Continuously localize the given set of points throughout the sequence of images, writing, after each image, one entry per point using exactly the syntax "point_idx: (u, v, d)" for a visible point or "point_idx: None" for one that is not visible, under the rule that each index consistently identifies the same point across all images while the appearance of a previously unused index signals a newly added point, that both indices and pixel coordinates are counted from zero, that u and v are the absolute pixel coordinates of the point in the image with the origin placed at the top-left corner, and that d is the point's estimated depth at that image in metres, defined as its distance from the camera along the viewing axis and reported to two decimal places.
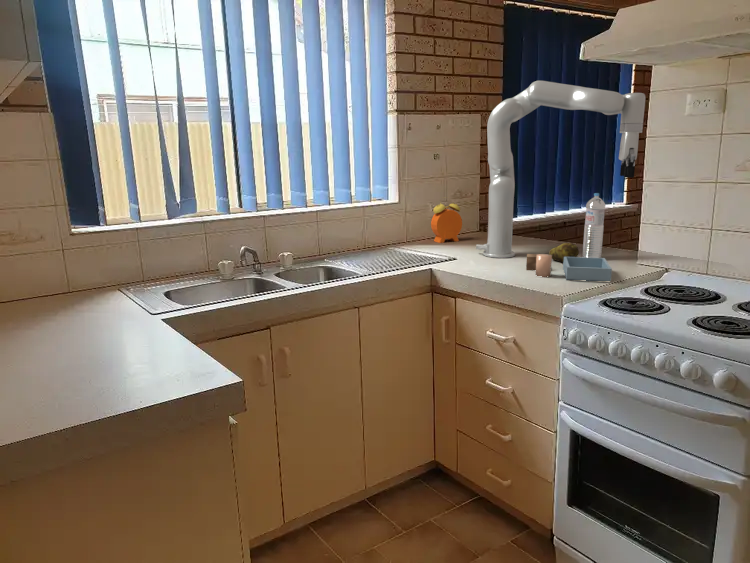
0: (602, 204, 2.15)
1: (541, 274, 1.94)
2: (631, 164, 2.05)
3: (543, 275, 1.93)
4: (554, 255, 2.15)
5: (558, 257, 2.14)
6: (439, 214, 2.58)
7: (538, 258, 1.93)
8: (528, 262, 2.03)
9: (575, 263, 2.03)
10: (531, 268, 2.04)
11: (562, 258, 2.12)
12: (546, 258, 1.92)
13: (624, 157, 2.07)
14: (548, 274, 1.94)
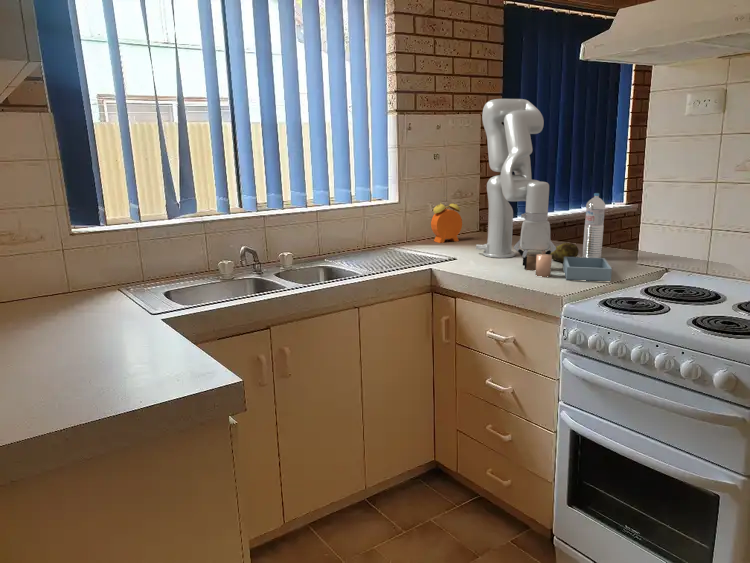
0: (602, 204, 2.15)
1: (541, 274, 1.94)
2: None
3: (543, 275, 1.93)
4: (554, 255, 2.15)
5: (558, 257, 2.14)
6: (439, 214, 2.58)
7: (538, 258, 1.93)
8: (528, 262, 2.03)
9: (575, 263, 2.03)
10: (531, 268, 2.04)
11: (562, 258, 2.12)
12: (546, 258, 1.92)
13: (549, 247, 2.01)
14: (548, 274, 1.94)
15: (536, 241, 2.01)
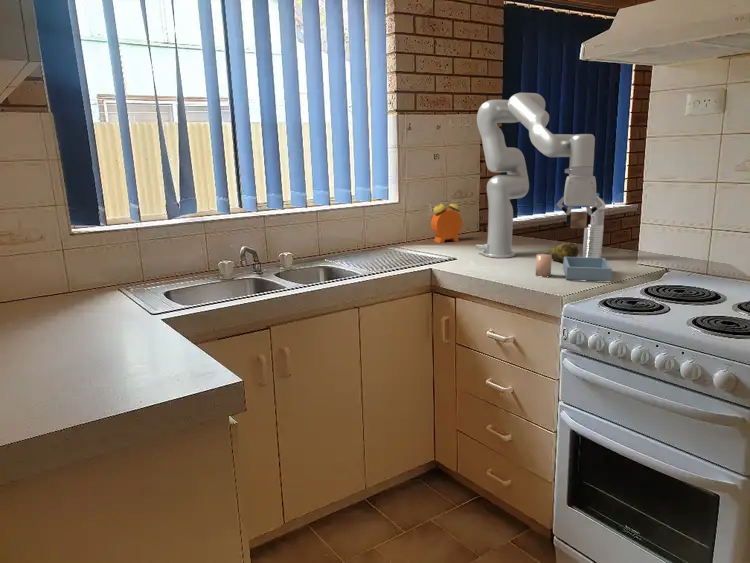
0: None
1: (541, 274, 1.94)
2: None
3: (543, 275, 1.93)
4: (554, 255, 2.15)
5: (558, 257, 2.14)
6: (439, 214, 2.58)
7: (538, 258, 1.93)
8: (572, 219, 1.94)
9: (575, 263, 2.03)
10: (576, 226, 1.94)
11: (562, 258, 2.12)
12: (546, 258, 1.92)
13: (595, 202, 1.91)
14: (548, 274, 1.94)
15: (581, 197, 1.91)
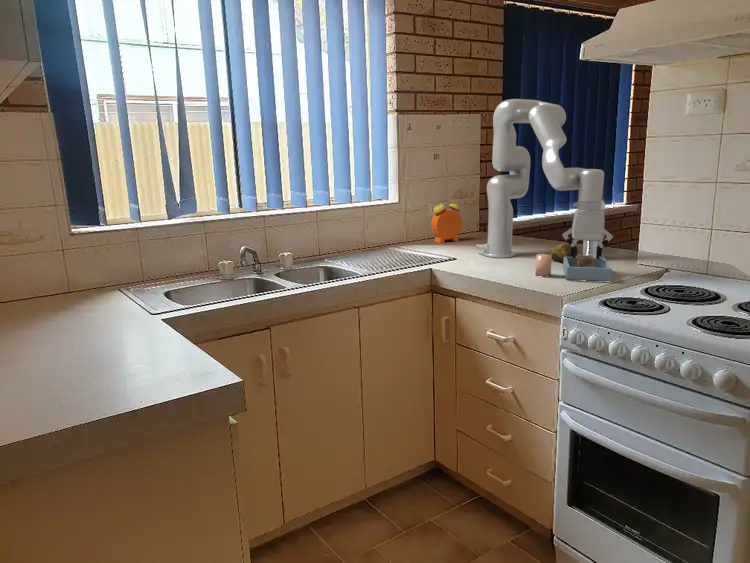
0: (602, 204, 2.15)
1: (541, 274, 1.94)
2: None
3: (543, 275, 1.93)
4: (554, 255, 2.15)
5: (557, 257, 2.14)
6: (439, 214, 2.58)
7: (538, 258, 1.93)
8: (580, 264, 1.96)
9: (575, 263, 2.03)
10: None
11: (561, 258, 2.13)
12: (546, 258, 1.92)
13: (603, 237, 1.93)
14: (548, 274, 1.94)
15: (589, 231, 1.93)
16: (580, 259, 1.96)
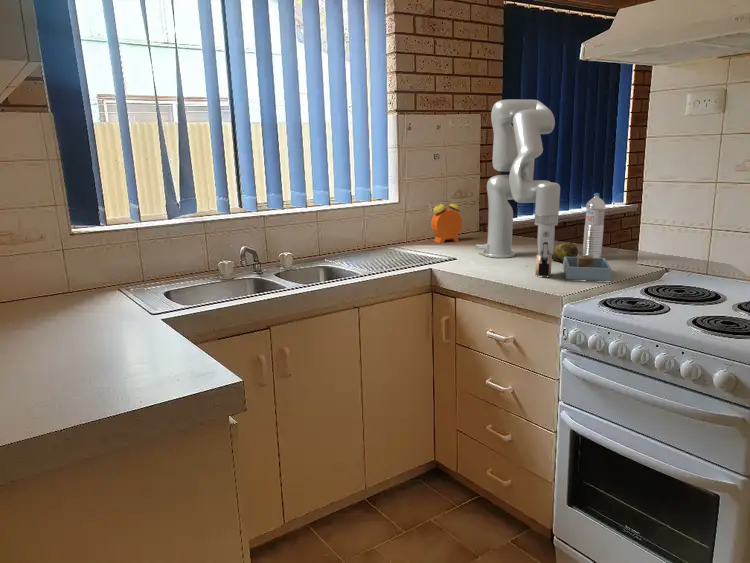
0: (602, 204, 2.15)
1: None
2: None
3: (543, 275, 1.93)
4: (553, 255, 2.15)
5: (557, 257, 2.14)
6: (439, 214, 2.58)
7: (538, 258, 1.93)
8: (580, 264, 1.96)
9: (575, 263, 2.03)
10: None
11: (561, 258, 2.13)
12: None
13: None
14: (548, 274, 1.94)
15: None
16: (580, 259, 1.96)
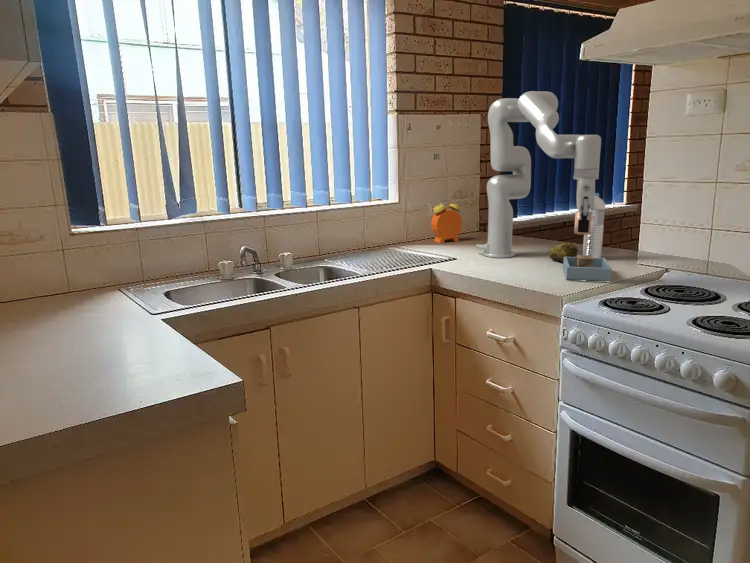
0: (602, 204, 2.15)
1: None
2: None
3: (582, 232, 1.86)
4: (553, 255, 2.15)
5: (557, 257, 2.14)
6: (439, 214, 2.58)
7: (577, 214, 1.86)
8: (580, 264, 1.96)
9: (575, 263, 2.03)
10: None
11: (561, 258, 2.13)
12: None
13: None
14: (588, 231, 1.86)
15: None
16: (580, 259, 1.96)
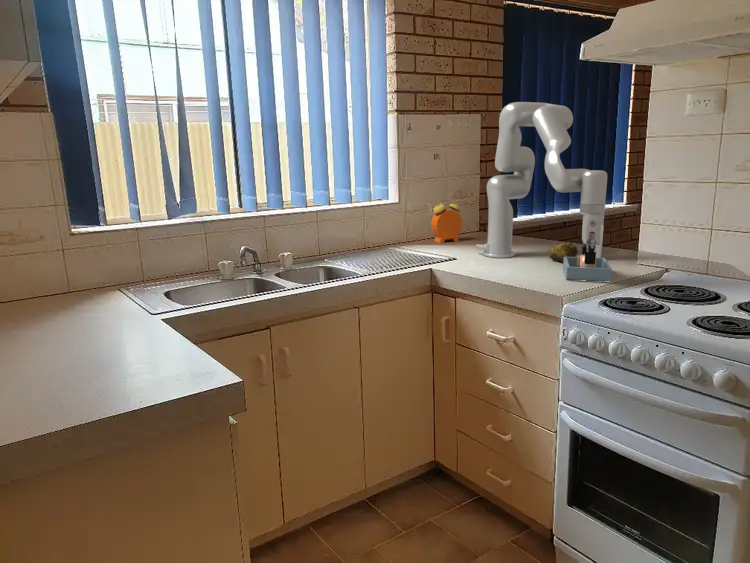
0: None
1: None
2: None
3: None
4: (553, 255, 2.15)
5: (557, 257, 2.14)
6: (439, 214, 2.58)
7: (582, 259, 1.89)
8: None
9: (575, 263, 2.03)
10: None
11: (561, 258, 2.13)
12: None
13: None
14: None
15: None
16: None
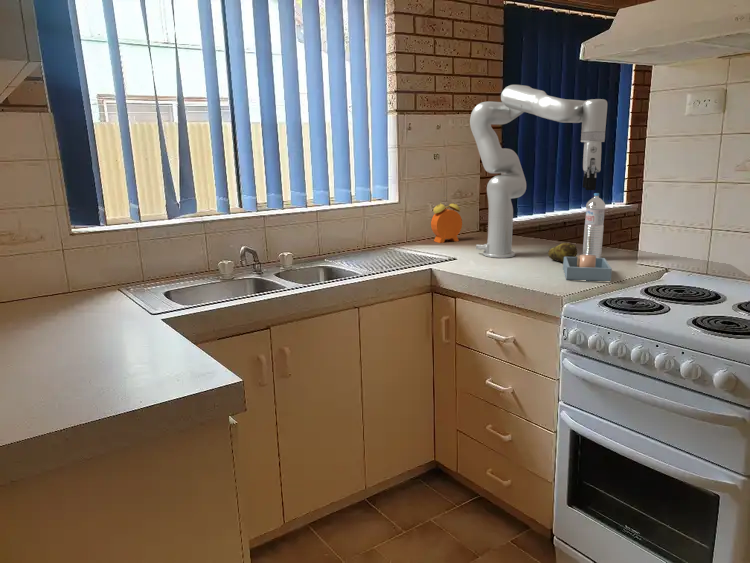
0: (602, 204, 2.15)
1: None
2: None
3: None
4: (553, 255, 2.15)
5: (557, 257, 2.14)
6: (439, 214, 2.58)
7: (582, 258, 1.89)
8: None
9: (575, 263, 2.03)
10: None
11: (561, 258, 2.13)
12: (591, 258, 1.88)
13: None
14: None
15: None
16: None
